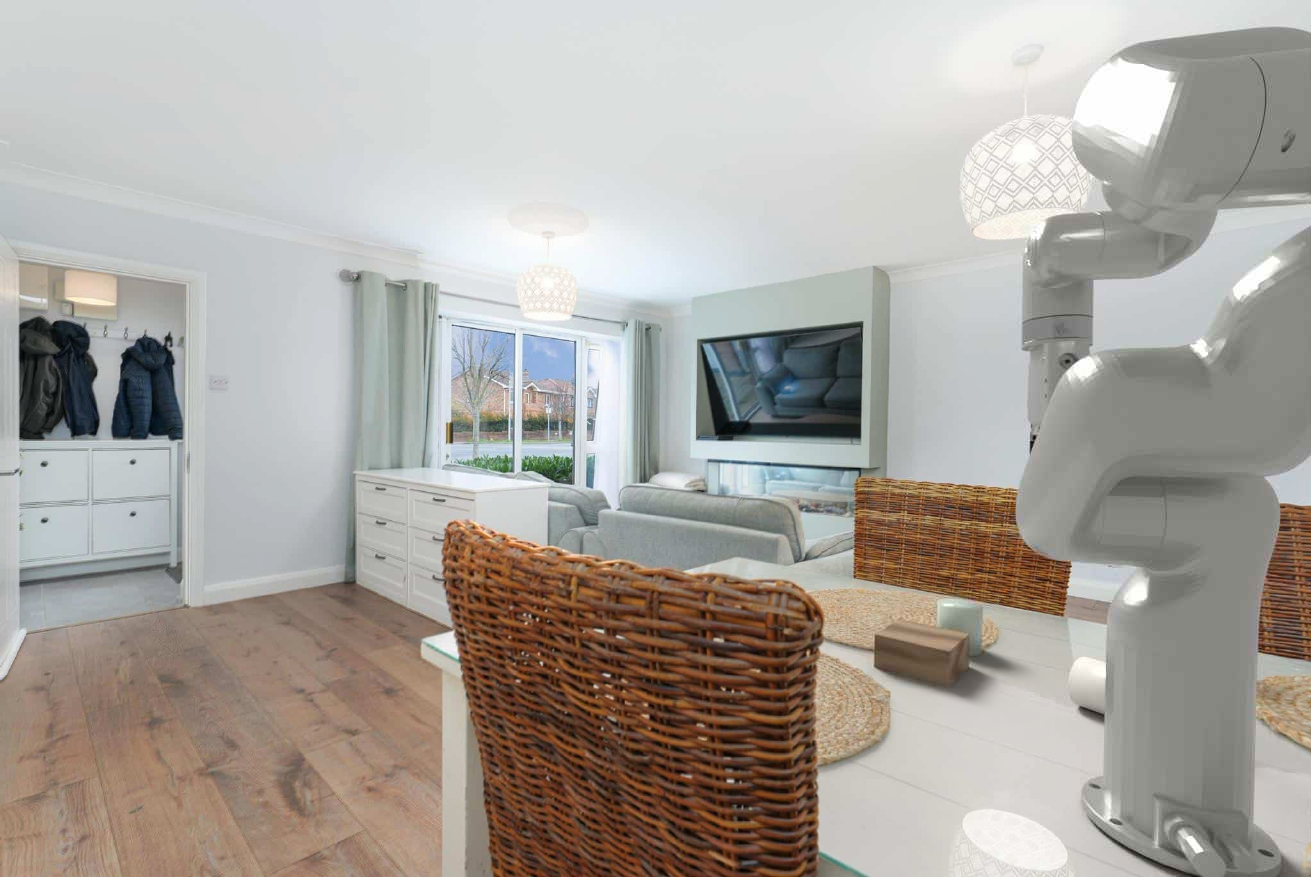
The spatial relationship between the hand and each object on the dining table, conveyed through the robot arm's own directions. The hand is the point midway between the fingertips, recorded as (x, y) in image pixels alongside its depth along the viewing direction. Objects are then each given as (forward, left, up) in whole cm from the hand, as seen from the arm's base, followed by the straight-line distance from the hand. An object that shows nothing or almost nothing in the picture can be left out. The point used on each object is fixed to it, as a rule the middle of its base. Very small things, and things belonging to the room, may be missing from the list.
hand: (1054, 471), depth 76 cm
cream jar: (+1, -3, -26) cm, 26 cm away
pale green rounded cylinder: (+17, +9, -29) cm, 35 cm away
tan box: (+6, +15, -30) cm, 33 cm away
